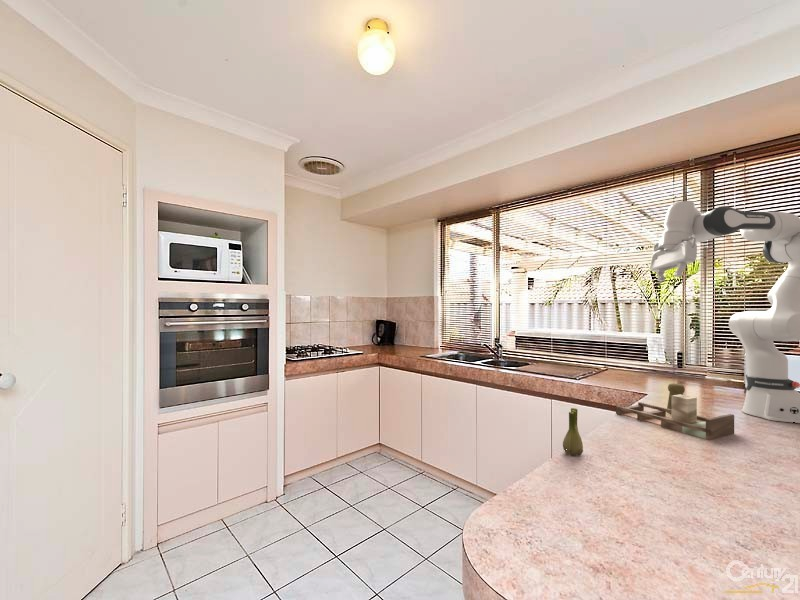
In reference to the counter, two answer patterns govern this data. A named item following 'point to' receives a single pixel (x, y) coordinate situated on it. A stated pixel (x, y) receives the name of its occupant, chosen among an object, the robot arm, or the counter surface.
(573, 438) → the fennel bulb
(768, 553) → the counter surface
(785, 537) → the counter surface
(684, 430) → the trap box
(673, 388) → the cork
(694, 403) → the birch block
